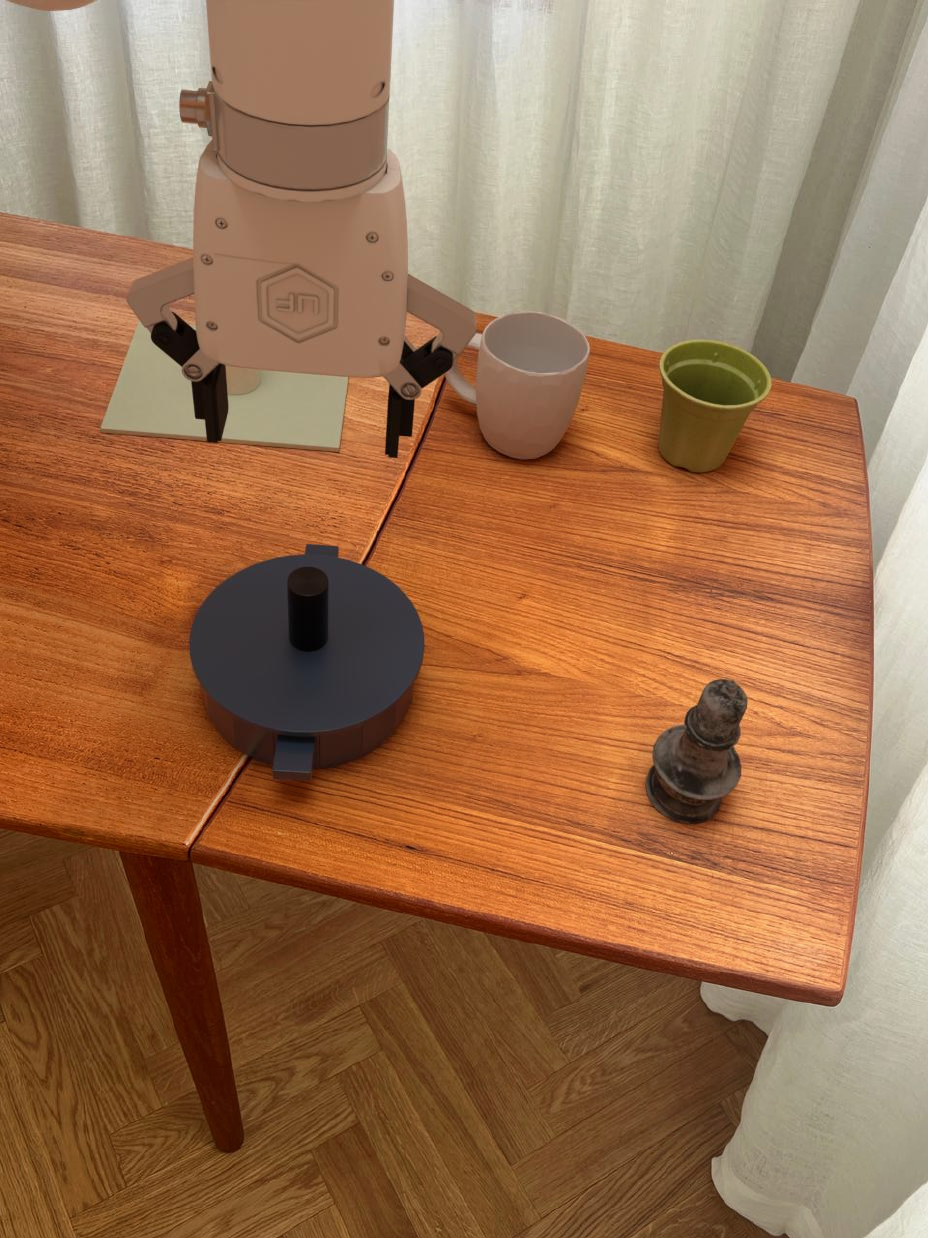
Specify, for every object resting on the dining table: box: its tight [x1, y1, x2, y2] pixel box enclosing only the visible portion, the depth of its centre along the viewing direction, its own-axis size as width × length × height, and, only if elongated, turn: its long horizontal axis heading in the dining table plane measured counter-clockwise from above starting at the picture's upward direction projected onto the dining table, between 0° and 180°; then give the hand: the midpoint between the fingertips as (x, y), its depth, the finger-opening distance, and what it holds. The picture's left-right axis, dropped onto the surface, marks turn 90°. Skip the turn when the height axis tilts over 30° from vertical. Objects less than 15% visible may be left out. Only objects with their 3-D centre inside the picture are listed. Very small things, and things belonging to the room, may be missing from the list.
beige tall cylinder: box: [225, 365, 261, 395], centre depth 96 cm, size 4×4×10 cm
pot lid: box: [188, 553, 426, 736], centre depth 73 cm, size 16×16×7 cm
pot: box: [199, 543, 415, 782], centre depth 76 cm, size 15×20×4 cm
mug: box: [443, 310, 591, 460], centre depth 95 cm, size 13×9×10 cm
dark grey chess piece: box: [644, 678, 748, 825], centre depth 71 cm, size 6×6×12 cm
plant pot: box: [657, 339, 772, 473], centre depth 96 cm, size 9×9×9 cm
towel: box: [99, 319, 350, 453], centre depth 99 cm, size 20×16×1 cm
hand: (305, 434), depth 62 cm, fingers open, 9 cm apart
